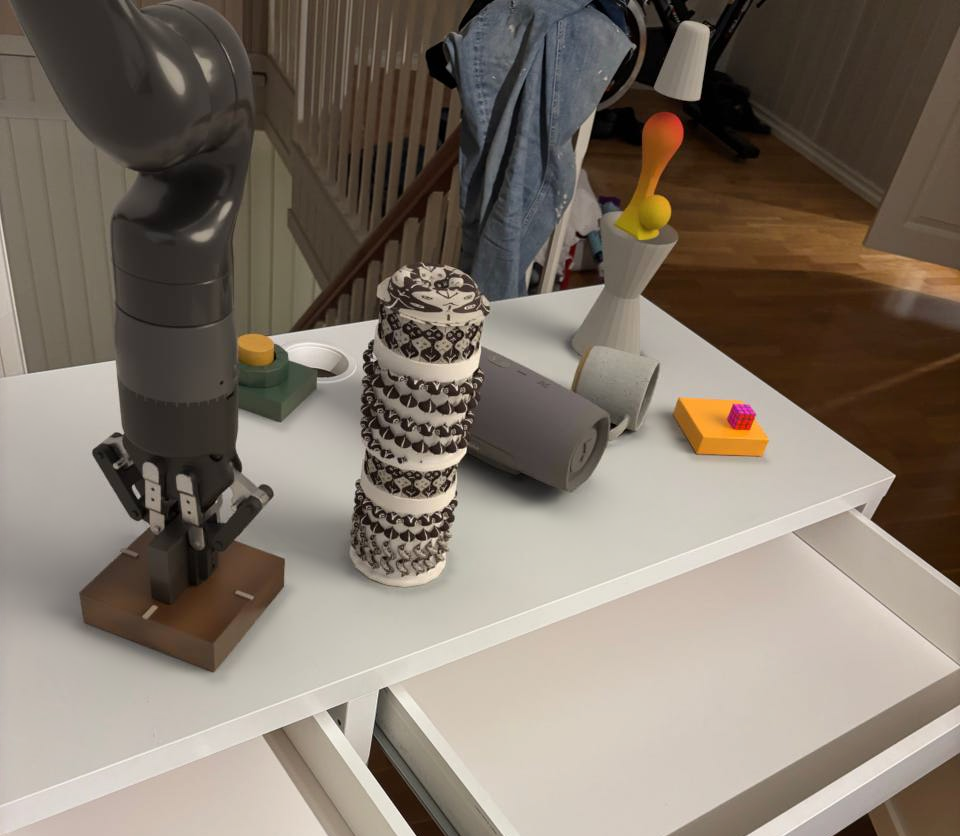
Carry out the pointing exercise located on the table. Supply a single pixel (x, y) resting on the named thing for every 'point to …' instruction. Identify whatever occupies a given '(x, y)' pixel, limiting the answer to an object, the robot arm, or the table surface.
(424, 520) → the patterned cylindrical tower
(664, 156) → the lava lamp
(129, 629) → the rotary knob block
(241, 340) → the button
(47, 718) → the table surface
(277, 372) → the button block
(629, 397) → the ceramic mug
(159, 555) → the rotary switch knob
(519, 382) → the bluetooth speaker
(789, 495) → the table surface
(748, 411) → the orange square block
